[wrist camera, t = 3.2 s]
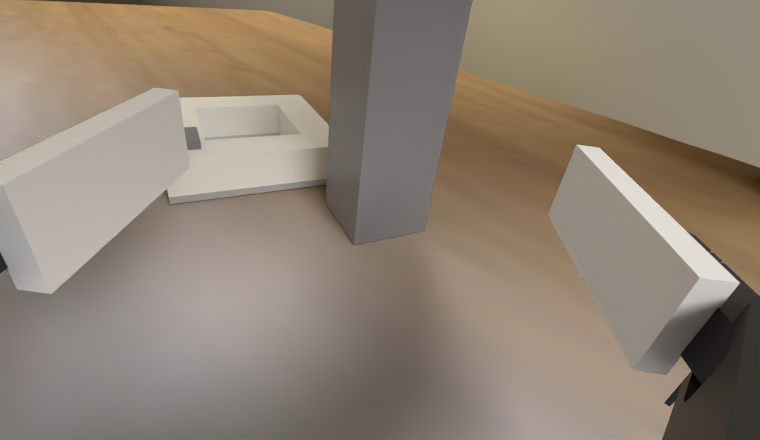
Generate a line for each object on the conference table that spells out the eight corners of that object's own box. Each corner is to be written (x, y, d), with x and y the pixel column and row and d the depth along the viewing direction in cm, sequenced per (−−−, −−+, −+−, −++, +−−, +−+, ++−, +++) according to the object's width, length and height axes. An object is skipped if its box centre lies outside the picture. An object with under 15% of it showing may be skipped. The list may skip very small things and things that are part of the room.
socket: (299, 125, 39) (299, 88, 37) (345, 182, 30) (348, 137, 28) (162, 133, 34) (153, 91, 32) (170, 204, 25) (159, 151, 23)
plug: (389, 193, 30) (430, -95, 20) (424, 231, 26) (493, -99, 17) (325, 203, 28) (338, -114, 18) (353, 245, 24) (388, -124, 15)
